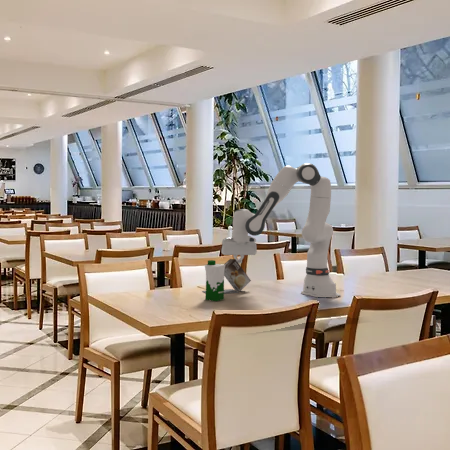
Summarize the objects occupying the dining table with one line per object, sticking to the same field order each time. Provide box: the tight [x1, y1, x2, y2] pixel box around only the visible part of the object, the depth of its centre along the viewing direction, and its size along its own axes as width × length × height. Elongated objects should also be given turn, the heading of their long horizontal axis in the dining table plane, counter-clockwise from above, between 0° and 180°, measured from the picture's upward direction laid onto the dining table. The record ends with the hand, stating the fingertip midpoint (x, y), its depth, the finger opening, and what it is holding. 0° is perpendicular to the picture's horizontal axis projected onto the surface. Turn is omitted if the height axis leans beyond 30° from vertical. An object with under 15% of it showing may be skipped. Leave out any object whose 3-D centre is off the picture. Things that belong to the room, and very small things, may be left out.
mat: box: [201, 288, 240, 295], centre depth 321 cm, size 10×18×1 cm, turn 113°
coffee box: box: [223, 258, 252, 292], centre depth 324 cm, size 9×6×16 cm
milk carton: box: [204, 259, 225, 302], centre depth 298 cm, size 9×9×20 cm
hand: (238, 262), depth 324 cm, fingers closed
